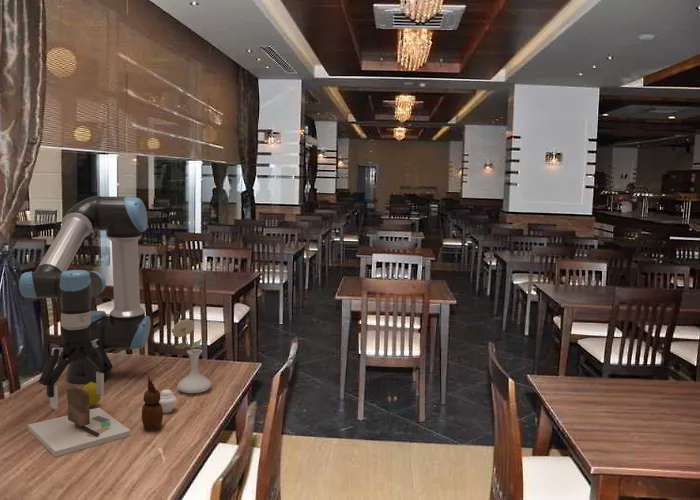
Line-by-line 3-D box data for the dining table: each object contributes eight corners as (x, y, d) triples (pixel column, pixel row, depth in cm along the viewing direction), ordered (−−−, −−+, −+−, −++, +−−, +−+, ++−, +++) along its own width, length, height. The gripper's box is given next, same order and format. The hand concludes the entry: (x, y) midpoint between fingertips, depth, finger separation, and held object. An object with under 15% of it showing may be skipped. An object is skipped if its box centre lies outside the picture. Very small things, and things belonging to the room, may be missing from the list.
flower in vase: (209, 383, 215) (209, 314, 212) (213, 394, 205) (213, 321, 202) (171, 386, 211) (170, 315, 208) (172, 398, 201) (172, 323, 197)
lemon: (94, 410, 188) (93, 385, 187) (78, 408, 190) (77, 384, 189) (104, 404, 194) (104, 379, 193) (89, 402, 195) (88, 378, 194)
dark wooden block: (76, 422, 175) (75, 387, 174) (102, 434, 168) (101, 397, 167) (68, 424, 173) (67, 389, 172) (94, 437, 166) (93, 400, 165)
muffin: (175, 414, 187) (175, 392, 186) (154, 415, 186) (154, 393, 185) (177, 406, 193) (177, 385, 192) (157, 407, 192) (157, 386, 191)
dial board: (99, 412, 187) (99, 407, 187) (130, 435, 172) (130, 430, 171) (28, 429, 174) (28, 424, 173) (55, 456, 158) (55, 451, 158)
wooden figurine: (140, 424, 179) (140, 375, 177) (161, 422, 181) (160, 373, 180) (142, 434, 173) (142, 382, 171) (164, 431, 175) (163, 380, 173)
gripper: (37, 337, 157) (40, 417, 159) (124, 321, 177) (125, 392, 179) (23, 332, 161) (26, 410, 163) (109, 317, 181) (110, 386, 183)
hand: (77, 401), depth 171 cm, fingers open, 13 cm apart
